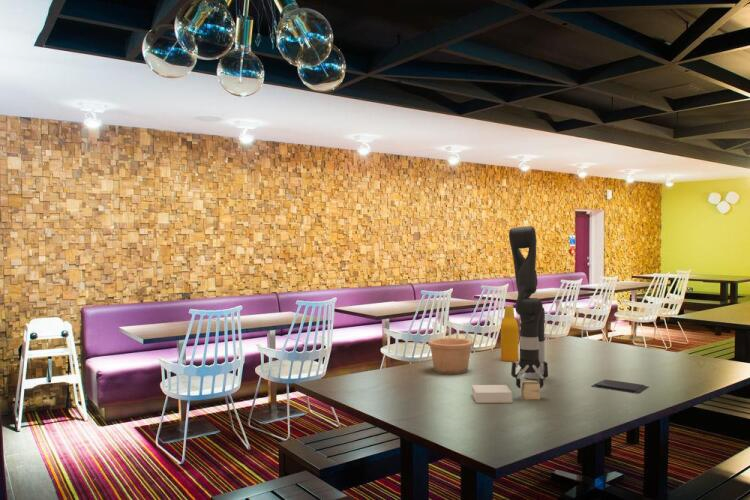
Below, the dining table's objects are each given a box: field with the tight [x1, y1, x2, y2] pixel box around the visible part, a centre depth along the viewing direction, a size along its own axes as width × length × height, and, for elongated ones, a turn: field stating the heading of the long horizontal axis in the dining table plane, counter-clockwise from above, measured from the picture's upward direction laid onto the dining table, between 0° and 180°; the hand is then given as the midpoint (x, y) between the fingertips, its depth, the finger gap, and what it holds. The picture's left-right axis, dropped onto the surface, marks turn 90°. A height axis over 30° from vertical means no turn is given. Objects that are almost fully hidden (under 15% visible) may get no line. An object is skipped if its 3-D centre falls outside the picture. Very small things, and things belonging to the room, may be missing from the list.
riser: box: [471, 384, 513, 404], centre depth 228 cm, size 12×14×4 cm
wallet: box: [590, 379, 650, 395], centre depth 244 cm, size 20×2×15 cm
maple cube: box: [520, 380, 541, 400], centre depth 229 cm, size 6×6×6 cm
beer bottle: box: [500, 305, 520, 363], centre depth 304 cm, size 9×9×29 cm
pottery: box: [427, 337, 474, 375], centre depth 280 cm, size 22×22×14 cm
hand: (529, 387), depth 229 cm, fingers open, 8 cm apart
